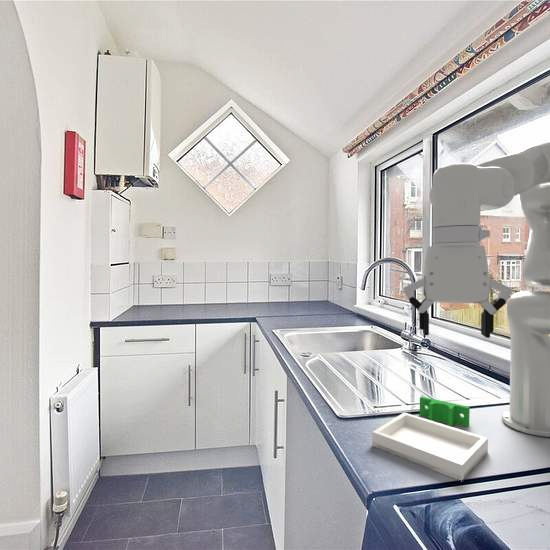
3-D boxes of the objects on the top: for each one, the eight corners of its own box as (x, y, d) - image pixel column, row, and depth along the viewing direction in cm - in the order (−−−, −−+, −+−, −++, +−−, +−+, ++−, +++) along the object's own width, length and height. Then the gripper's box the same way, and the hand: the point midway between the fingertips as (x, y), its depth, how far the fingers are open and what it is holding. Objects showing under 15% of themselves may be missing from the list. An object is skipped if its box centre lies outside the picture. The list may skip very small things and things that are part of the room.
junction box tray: (404, 424, 89) (404, 412, 89) (487, 452, 76) (487, 438, 76) (372, 445, 79) (372, 431, 79) (461, 481, 66) (462, 465, 66)
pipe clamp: (416, 419, 93) (416, 400, 93) (420, 414, 96) (420, 396, 96) (466, 431, 86) (466, 411, 86) (469, 425, 89) (469, 406, 89)
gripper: (505, 237, 67) (503, 332, 67) (402, 240, 71) (402, 329, 72) (519, 235, 59) (518, 342, 60) (404, 238, 64) (404, 337, 65)
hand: (455, 335), depth 66 cm, fingers open, 9 cm apart
